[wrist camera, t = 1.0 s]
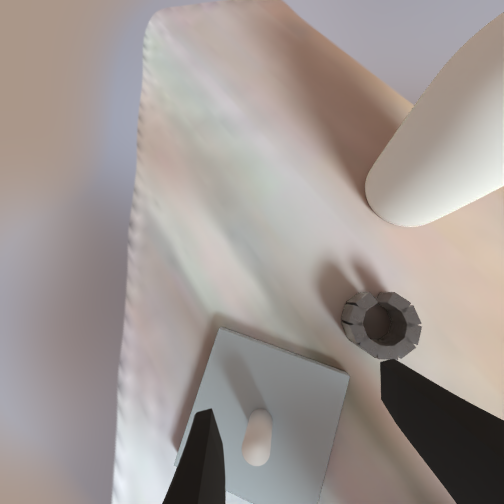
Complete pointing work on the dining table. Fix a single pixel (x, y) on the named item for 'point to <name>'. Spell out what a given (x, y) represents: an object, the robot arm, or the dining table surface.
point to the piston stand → (270, 418)
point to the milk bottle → (447, 139)
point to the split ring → (401, 327)
